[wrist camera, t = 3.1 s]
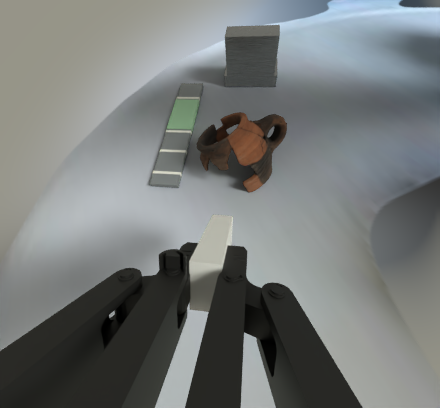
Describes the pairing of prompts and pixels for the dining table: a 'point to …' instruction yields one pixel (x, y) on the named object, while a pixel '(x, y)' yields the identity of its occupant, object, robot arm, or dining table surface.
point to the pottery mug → (243, 145)
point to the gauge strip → (177, 137)
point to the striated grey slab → (251, 56)
